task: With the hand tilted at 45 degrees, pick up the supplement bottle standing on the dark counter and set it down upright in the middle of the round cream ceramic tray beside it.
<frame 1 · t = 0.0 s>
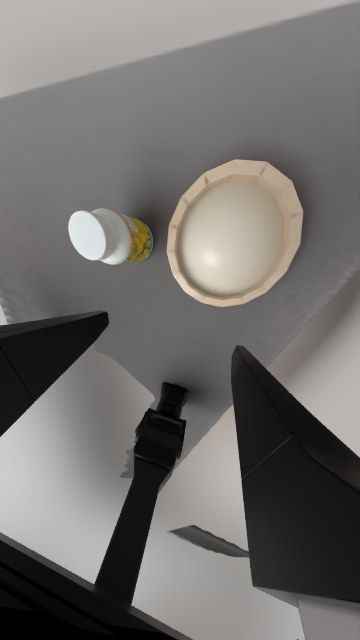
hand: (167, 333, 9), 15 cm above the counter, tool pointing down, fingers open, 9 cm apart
supplement bottle: (138, 241, 21), on the counter
round tray: (225, 248, 19), on the counter
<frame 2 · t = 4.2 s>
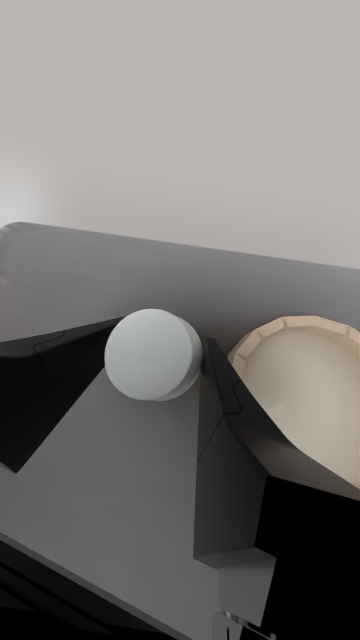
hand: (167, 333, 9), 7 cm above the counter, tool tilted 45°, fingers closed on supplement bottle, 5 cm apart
supplement bottle: (172, 357, 15), on the counter, touching gripper
round tray: (300, 397, 13), on the counter
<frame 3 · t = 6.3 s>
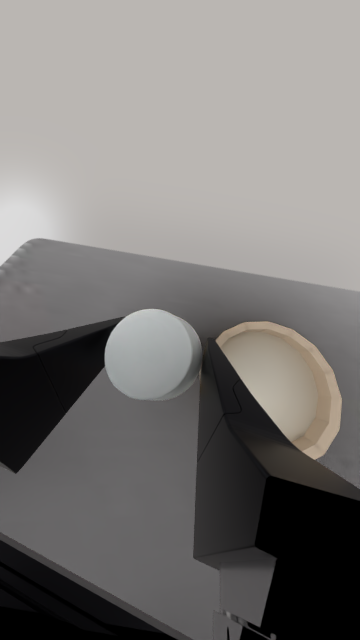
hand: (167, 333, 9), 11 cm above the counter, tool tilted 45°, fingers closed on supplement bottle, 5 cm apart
supplement bottle: (172, 357, 15), point 4 cm above the counter, touching gripper
round tray: (257, 381, 18), on the counter
when the fingers open (9 cm above the counter, at t = 8.7 s): supplement bottle drops 1 cm, resting on round tray.
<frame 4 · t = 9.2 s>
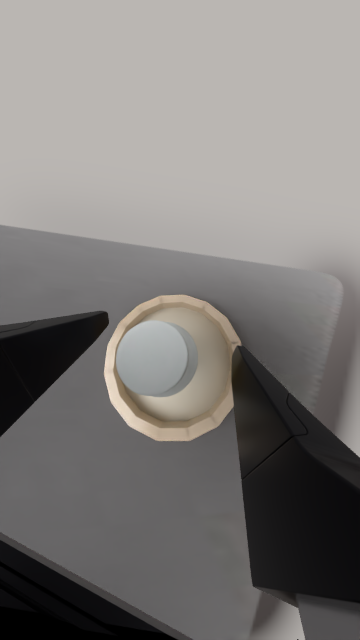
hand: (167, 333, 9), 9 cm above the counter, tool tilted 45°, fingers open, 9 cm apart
supplement bottle: (172, 358, 17), point 1 cm above the counter, touching round tray
round tray: (174, 358, 17), on the counter
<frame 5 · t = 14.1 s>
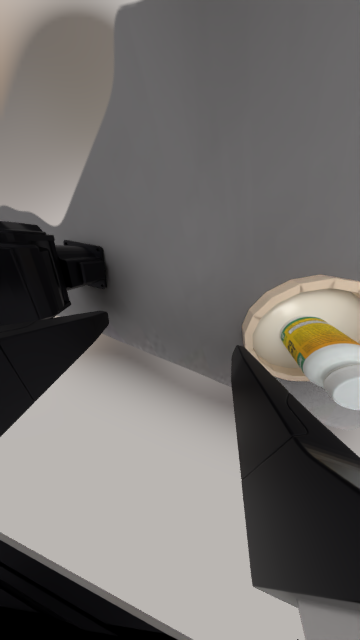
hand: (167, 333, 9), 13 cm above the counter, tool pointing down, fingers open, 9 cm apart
supplement bottle: (300, 330, 19), point 1 cm above the counter, touching round tray
round tray: (299, 329, 20), on the counter
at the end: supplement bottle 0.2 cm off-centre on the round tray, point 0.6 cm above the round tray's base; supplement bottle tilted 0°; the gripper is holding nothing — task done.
